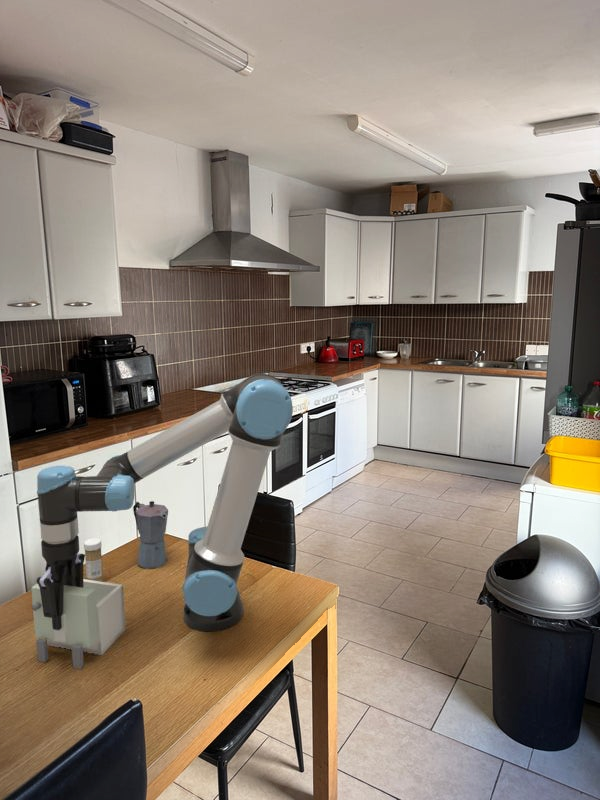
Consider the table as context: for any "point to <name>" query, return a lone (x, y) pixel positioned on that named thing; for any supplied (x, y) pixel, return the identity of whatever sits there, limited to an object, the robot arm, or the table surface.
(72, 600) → the door
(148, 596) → the table surface
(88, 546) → the sprinkles bottle
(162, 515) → the moka pot
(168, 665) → the table surface
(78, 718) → the table surface
